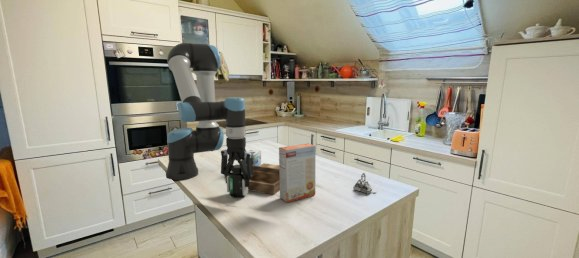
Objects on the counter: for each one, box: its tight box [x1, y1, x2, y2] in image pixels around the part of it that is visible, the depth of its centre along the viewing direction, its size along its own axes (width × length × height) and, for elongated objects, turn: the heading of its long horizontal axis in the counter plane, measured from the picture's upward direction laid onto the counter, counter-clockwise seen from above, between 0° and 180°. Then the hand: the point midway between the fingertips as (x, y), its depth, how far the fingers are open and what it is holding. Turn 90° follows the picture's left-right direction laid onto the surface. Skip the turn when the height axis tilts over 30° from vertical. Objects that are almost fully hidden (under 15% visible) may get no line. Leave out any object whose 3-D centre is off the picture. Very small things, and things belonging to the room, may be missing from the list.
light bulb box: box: [244, 149, 262, 166], centre depth 139 cm, size 11×7×11 cm, turn 168°
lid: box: [253, 163, 279, 175], centre depth 129 cm, size 18×12×3 cm, turn 66°
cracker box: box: [278, 143, 316, 203], centre depth 107 cm, size 14×6×21 cm, turn 122°
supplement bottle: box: [229, 164, 246, 198], centre depth 109 cm, size 7×7×12 cm
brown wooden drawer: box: [248, 172, 280, 195], centre depth 119 cm, size 18×12×4 cm, turn 66°
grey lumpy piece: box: [353, 172, 377, 194], centre depth 117 cm, size 9×9×8 cm
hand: (237, 192), depth 109 cm, fingers closed on supplement bottle, 7 cm apart
